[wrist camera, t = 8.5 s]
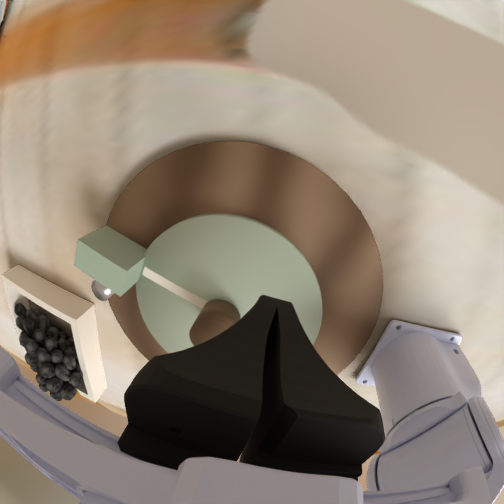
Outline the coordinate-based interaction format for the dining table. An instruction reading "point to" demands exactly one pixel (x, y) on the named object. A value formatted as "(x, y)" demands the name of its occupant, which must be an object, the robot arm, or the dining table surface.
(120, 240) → the flange plate
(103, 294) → the dowel
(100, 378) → the fruit frame
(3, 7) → the food on plate
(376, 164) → the dining table surface
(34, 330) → the fruit
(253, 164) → the base board
